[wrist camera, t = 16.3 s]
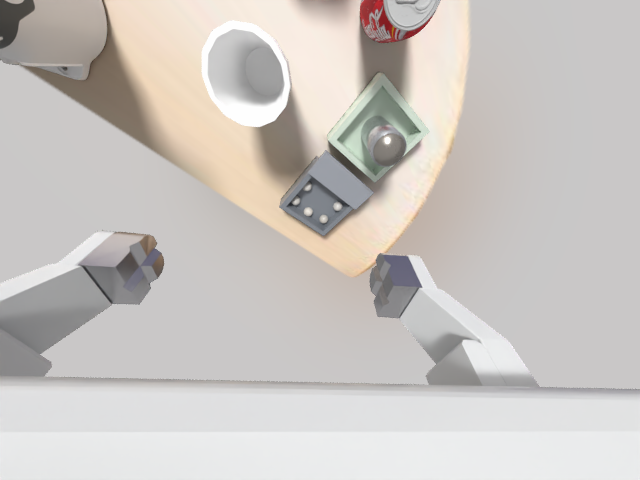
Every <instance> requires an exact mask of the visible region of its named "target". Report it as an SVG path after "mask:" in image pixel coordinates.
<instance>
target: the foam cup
mask: <svg viewBox="0 0 640 480" xmlns="http://www.w3.org/2000/svg"><path fill="white" fill-rule="evenodd" d="M202 76H203V79H204V82H205V85H206V87H207V90H208V93H209V96H210V98H211V99H212V100H213V102H214V103H215V104H216V105H217V106H218V108H219V109H220V110H221V111H222V113H223V114H224V115H225V116H227V117H229V118H230V119H232V120H234V121H235V122H237V123H239V124H240V125H244V126H253V127H261V126H263V125H266V124H268V123H270V122H273V121H275V120H276V118H277V117H278V116H279V115H280V113H281V112H282V111H283V109H284V108H285V107H286V105H287V103H288V99H289V94H290V90H291V85H292V82H291V76H290V69H289V63H288V60H287V58H286V57H285V55H284V53H283V51H282V50H281V48H280V46H279V44H278V42H277V41H276V40H275V39H274V38H273V37H271V36H270V35H269V34H267V33H266V32H265V31H264V30H262V29H261V28H260V27H258V26H257V25H255V24H252V23H245V22H238V21H232V20H231V21H229V22H227V23H225V24H223V25H221V26H219V27H217V28H216V29H214V30H212V32H211V34H210V36H209V38H208V40H207V42H206V44H205V46H204V47H203V49H202Z"/></svg>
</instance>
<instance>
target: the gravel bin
mask: <svg viewBox="0 0 640 480" xmlns="http://www.w3.org/2000/svg"><path fill="white" fill-rule="evenodd" d="M373 193H374V192H373V191H372V190H371V189H370V188H369V187H367V186H366V185H365V184H364V183H363V182H362V181H361V180H359V179H358V178H357V177H356V176H355V175H354V174H353V173H351V172H350V171H349V170H348V169H347V168H346V167H345V166H343V165H342V164H341V163H340V162H339V161H338V160H337V159H335V158H334V157H333V156H332V155H331V154H330V153H329V152H327V151H325V152H324V153H323V154H322V155H321V157H320V158H318V157H317V156H316V157H315V158H314V160H313V161H312V162H311V163H310V164H309V166H308V167H307V168H306V169H305V171H304V172H303V173H302V174H301V175H300V177H299V178H298V179H297V180H296V181H295V183H294V184H293V185H292V186H291V188H290V189H289V190H288V191H287V192H286V194H285V195H284V196H283V197H282V198H281V202H280V206H279V207H280V208H281V209H283V210H284V211H286V212H287V213H289V214H290V215H292V216H293V217H295V218H296V219H298V220H299V221H301V222H302V223H304V224H306V225H307V226H309V227H310V228H312V229H313V230H315V231H316V232H318V233H319V234H321V235H322V236H324V235H326V234H327V233H328V232H329V231H330V230H331V229H332V228H333V227H334V226H335V225H336V224H337V223H338V222H340V221H341V220H342V219H343V218H344V217H345V216H346V215H347V214H348V213H349V212H350V211H351V210H353V209H355V210H356V209H357V208H358V207H359V206H360V205H361V204H362V203H363V202H365V201H366V200H367V199H368V198H369V197H370V196H371V195H372V194H373Z"/></svg>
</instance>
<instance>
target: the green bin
mask: <svg viewBox="0 0 640 480" xmlns="http://www.w3.org/2000/svg"><path fill="white" fill-rule="evenodd" d="M373 116H381V117H384V118H385V119H386V120H387V121H388V122H389V123H390V124H392V125H393V126H394V127H395V128H396V129H397V130H398V131H399V132H400V133H401V134H402V135H403V136H404V137H405V139H406V143H407V147H406V152H405V154H406V153H407V152H408V151H409V150H411V149H412V148H413V147H414V146H415V145H416V144H417V143H418V142H419V141H420V140H421V139H422V138H423V137H424V136H425V135H426V134H428V133H429V132H430V131H429V129H428V128H427V127H426V126H425V124H424V123H423V122H422V121H421V119H420V118H419V117H418V116H417V114H416V113H415V112H414V111H413V109H412V108H411V107H410V106H409V104H408V103H407V102H406V101H405V99H404V98H403V97H402V96H401V94H400V93H399V92H398V91H397V89H396V88H395V87H394V86H393V84H392V83H391V82H390V81H389V79H388V78H387V77H386V76H385V74H384V73H381V72H378V73H377V74H376V75H375V76H374V78H373V79H372V80H371V81H370V83H369V84H368V85H367V86H366V88H365V89H364V90H363V91H362V92H361V94H360V95H359V96H358V97H357V99H356V100H355V101H354V102H353V104H352V105H351V106H350V107H349V109H348V110H347V111H346V112H345V114H344V115H343V116H342V117H341V119H340V120H339V121H338V122H337V123H336V125H335V126H334V127H333V128H332V130H331V131H330V132H329V133H328V135H327V137H328V141H329V142H330V143H331V144H332V145H333V146H334V147H336V148H337V149H338V150H339V151H340V152H341V153H342V154H343V155H344V156H346V157H347V158H348V159H349V160H350V161H351V162H352V163H353V164H354V165H355V166H357V167H358V168H359V169H360V170H361V171H362V172H363V173H364V174H365V175H367V176H368V177H369V178H370V179H371V180H372V181H373V182H374V183H376V182H377V181H378V180H379V179H380V178H381V177H382V176H383V175H384V174H385V173H386V172H387V171H388V170H389V169H390V168H391V167H392V166H394V165H395V164H394V165H392V166H389V167H382V166H379V165H377V164H376V163H375V162H374V161H373V159H372V157H371V155H370V153H369V151H368V150H367V148H366V146H365V144H364V142H363V140H362V138H361V129H362V127H363V125H364V123H365V122H366V121H367V120H368V119H369V118H371V117H373ZM405 154H404V155H405Z"/></svg>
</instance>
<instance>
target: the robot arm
mask: <svg viewBox="0 0 640 480" xmlns="http://www.w3.org/2000/svg"><path fill="white" fill-rule="evenodd" d="M106 38H107V20H106V14H105V10H104V6H103V3H102V0H0V60H2V61H3V62H4V63H7V64H12V65H19V63H20V64H21V65H24V66H35V67H38V68H41V69H44V70H47V71H50V72H53V73H56V74H60V75H63V76H66V77H69V78H72V79H75V80H85V79H87V77H88V74H89V69H90V63H91V62H92V61H93V59H95V58H96V57H97V56H98V55H99V54H100V53H101V51H102V50H103V48H104V45H105V43H106ZM65 66H66V67H67V69H68V70H67V69H66V68H65ZM156 245H157V242H156V240H155V238H154V237H153V236H151V235H146V234H136V233H126V232H113V231H103V230H102V231H99V232H96V233H95V234H93V235H92V236H91V237H89V238H88V239H87V240H86V241H85V242H83V243H82V244H81V245H80V246H78V247H77V248H76V249H75V250H73V251H72V252H71V253H70V254H68V255H67V256H66V257H65V258H63V259H62V260H61V261H60V262H58V263H57V264H49V265H46V266H44V267H41V268H39V269H37V270H34V271H31V272H28V273H26V274H23V275H21V276H18V277H15V278H13V279H10V280H8V281H5V282H2V283H0V480H640V389H604V388H557V387H556V388H555V387H539V385H538V384H537V382H536V381H535V379H534V378H533V376H532V375H531V374H530V372H529V370H528V369H527V368H526V366H525V365H524V363H523V362H522V360H521V359H520V357H519V356H518V355H517V353H516V351H515V350H514V348H513V347H512V345H511V344H510V343H509V341H508V340H507V339H505V338H504V337H503V336H502V335H500V334H499V333H498V332H496V331H495V330H494V329H492V328H491V327H490V326H489V325H487V324H486V323H485V322H483V321H482V320H481V319H479V318H478V317H477V316H476V315H474V314H473V313H472V312H470V311H469V310H468V309H466V308H465V307H464V306H463V305H461V304H460V303H458V302H457V301H456V300H455V299H453V298H452V297H451V296H450V295H448V294H447V293H446V292H444V291H443V290H442V289H437V287H436V285H435V283H434V281H433V280H432V278H431V276H430V274H429V272H428V270H427V268H426V266H425V265H424V263H423V261H422V259H421V258H420V257H419V256H416V255H398V254H384V253H380V254H379V255H378V256H377V259H376V263H377V266H375V267H374V268H372V272H371V274H370V288H371V292H372V293H373V294H374V295H375V296H376V297H375V300H374V304H375V308H376V312H377V316H378V317H390V318H400V319H399V320H400V321H401V322H402V323H403V325H404V326H405V327H406V328H407V329H408V331H409V332H410V333H411V334H412V335H413V337H414V338H415V339H416V340H417V341H418V343H419V344H420V345H421V346H422V347H423V349H424V350H425V351H426V352H427V353H428V354H429V356H430V357H431V358H432V360H433V361H434V362H435V363H436V365H435V366H434V367H433V368H432V369H431V370H430V371H429V372H428V373H427V375H426V377H427V380H428V383H429V385H416V384H414V385H412V384H369V383H322V382H321V383H320V382H275V381H271V382H270V381H225V380H179V379H178V380H177V379H131V378H130V379H129V378H84V377H83V378H82V377H44V376H45V374H46V373H47V372H48V371H49V370H50V368H51V367H52V365H51V362H50V361H49V360H47V359H46V358H44V357H43V356H41V355H40V354H41V353H43V352H44V351H45V350H47V349H48V348H50V347H51V346H53V345H54V344H56V343H57V342H59V341H60V340H62V339H63V338H64V337H66V336H67V335H69V334H70V333H72V332H73V331H75V330H76V329H78V328H79V327H80V326H82V325H83V324H85V323H86V322H88V321H89V320H91V319H92V318H94V317H95V316H96V315H98V314H100V313H101V312H103V311H104V310H105V309H107V308H108V307H110V306H111V305H112V304H140V303H141V302H142V300H143V299H144V297H145V296H146V294H147V293H148V292H149V290H150V289H151V287H150V283H151V282H152V281H154V280H156V279H158V277H159V276H160V274H161V273H162V270H163V266H164V259H163V256H162V253H161V252H159V251H158V250H157V249H155V247H156Z"/></svg>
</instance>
